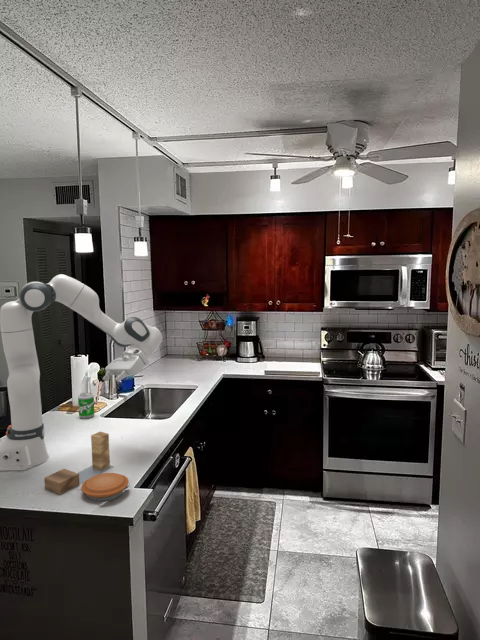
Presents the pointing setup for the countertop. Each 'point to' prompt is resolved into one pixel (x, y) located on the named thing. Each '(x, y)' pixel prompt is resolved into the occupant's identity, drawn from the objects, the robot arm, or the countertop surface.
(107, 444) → the oak post
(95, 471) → the slate board
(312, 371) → the countertop surface
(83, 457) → the countertop surface
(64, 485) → the walnut plinth
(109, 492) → the pie
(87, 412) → the soda can
